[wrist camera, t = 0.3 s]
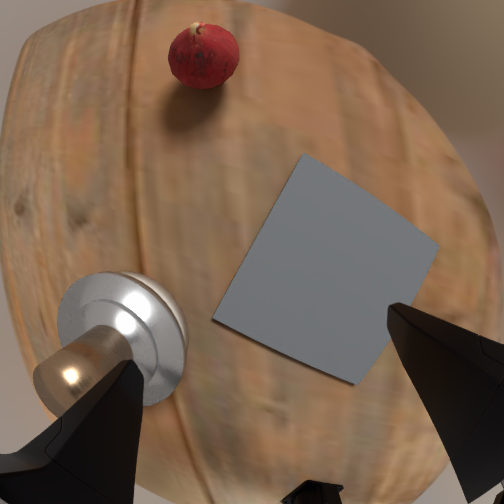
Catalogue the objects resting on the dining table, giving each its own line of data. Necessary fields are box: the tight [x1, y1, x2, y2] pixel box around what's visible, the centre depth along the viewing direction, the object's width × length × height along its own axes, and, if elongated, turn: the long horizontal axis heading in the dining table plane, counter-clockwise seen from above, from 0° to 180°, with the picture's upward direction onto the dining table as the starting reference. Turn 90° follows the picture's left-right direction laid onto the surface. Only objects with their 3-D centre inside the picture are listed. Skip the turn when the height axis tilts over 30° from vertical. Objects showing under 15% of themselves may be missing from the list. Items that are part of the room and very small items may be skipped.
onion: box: [168, 22, 239, 89], centre depth 18 cm, size 6×6×8 cm
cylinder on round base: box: [33, 271, 186, 418], centre depth 16 cm, size 12×12×9 cm
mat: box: [212, 153, 440, 385], centre depth 24 cm, size 16×16×1 cm
